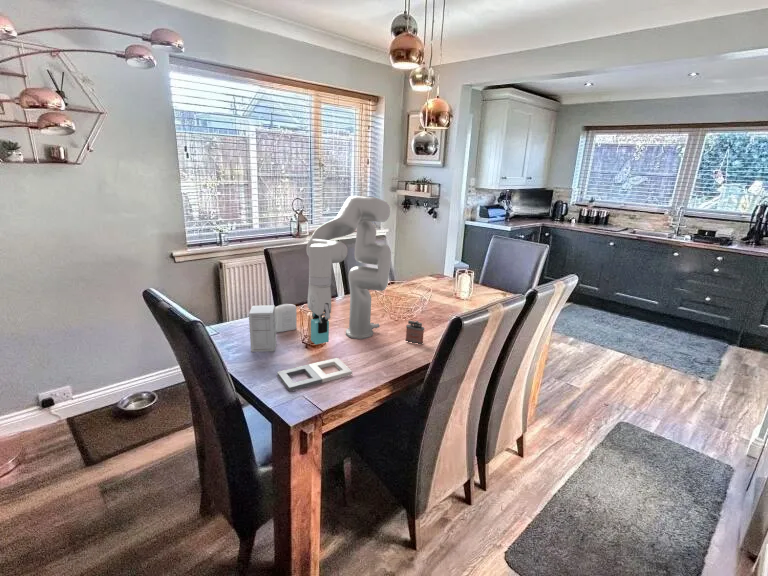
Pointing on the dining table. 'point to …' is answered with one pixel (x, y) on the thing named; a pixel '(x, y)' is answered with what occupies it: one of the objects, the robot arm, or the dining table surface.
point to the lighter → (414, 332)
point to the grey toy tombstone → (285, 317)
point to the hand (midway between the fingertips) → (319, 329)
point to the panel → (313, 374)
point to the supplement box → (262, 328)
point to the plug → (317, 337)
